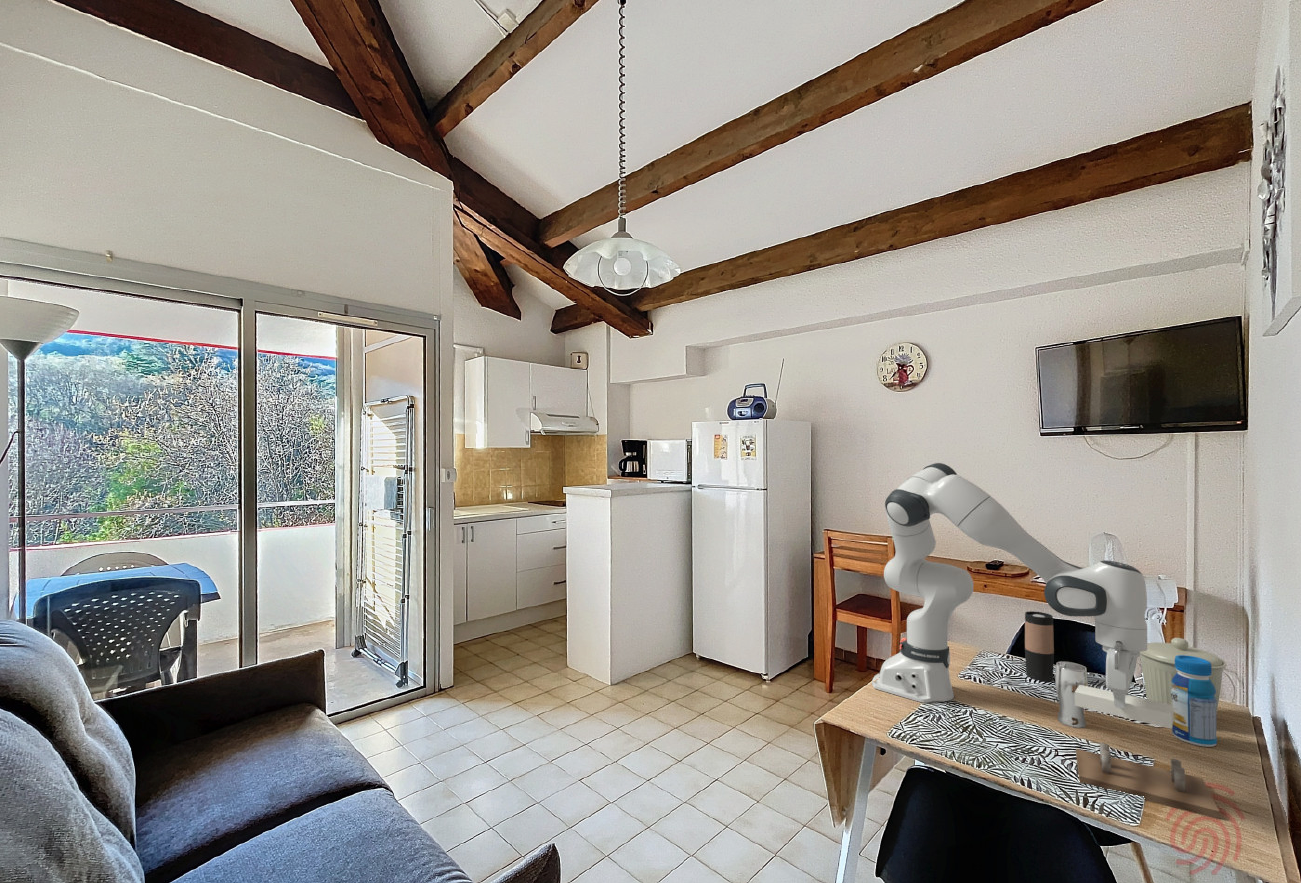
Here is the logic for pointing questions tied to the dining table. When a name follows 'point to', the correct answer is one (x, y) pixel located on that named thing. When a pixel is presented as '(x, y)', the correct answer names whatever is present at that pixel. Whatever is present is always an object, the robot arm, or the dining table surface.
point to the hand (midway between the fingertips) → (1121, 701)
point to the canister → (1173, 668)
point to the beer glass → (1070, 693)
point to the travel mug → (1039, 645)
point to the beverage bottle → (1194, 702)
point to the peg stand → (1147, 781)
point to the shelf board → (1133, 706)
